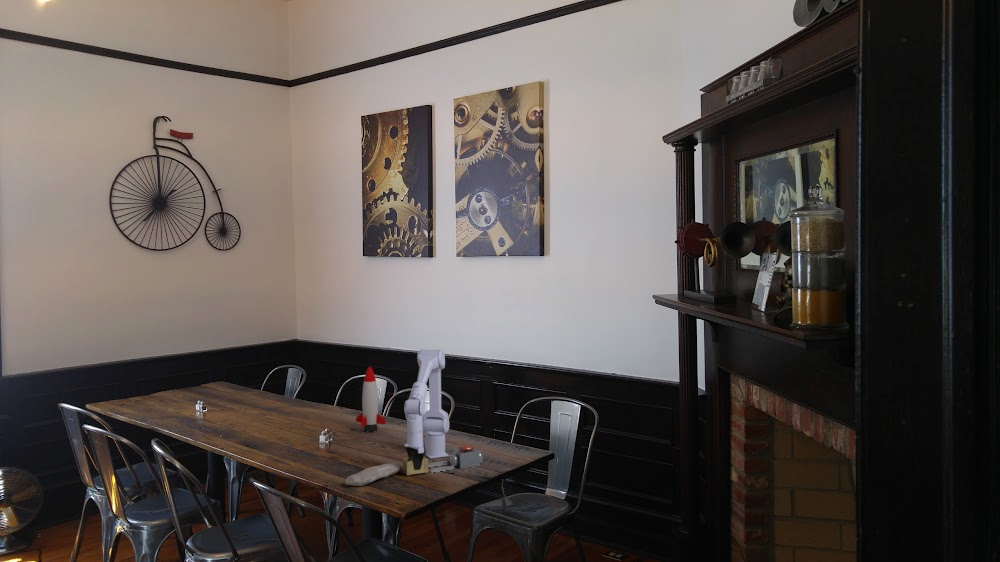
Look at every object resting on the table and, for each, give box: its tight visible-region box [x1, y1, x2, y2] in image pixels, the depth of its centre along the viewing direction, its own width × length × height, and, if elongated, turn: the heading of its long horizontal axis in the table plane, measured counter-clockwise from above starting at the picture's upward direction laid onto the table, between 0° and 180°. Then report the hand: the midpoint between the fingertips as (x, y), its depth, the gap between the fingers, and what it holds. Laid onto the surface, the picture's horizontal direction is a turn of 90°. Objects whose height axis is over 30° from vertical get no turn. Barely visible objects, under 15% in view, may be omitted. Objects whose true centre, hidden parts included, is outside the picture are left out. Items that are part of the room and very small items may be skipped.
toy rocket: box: [355, 366, 387, 433], centre depth 325 cm, size 11×11×30 cm
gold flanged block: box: [402, 455, 429, 476], centre depth 257 cm, size 5×8×5 cm, turn 114°
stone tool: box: [344, 462, 402, 487], centre depth 251 cm, size 12×5×25 cm
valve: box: [428, 443, 484, 474], centre depth 265 cm, size 8×22×7 cm, turn 114°
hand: (415, 467), depth 257 cm, fingers closed on gold flanged block, 4 cm apart
